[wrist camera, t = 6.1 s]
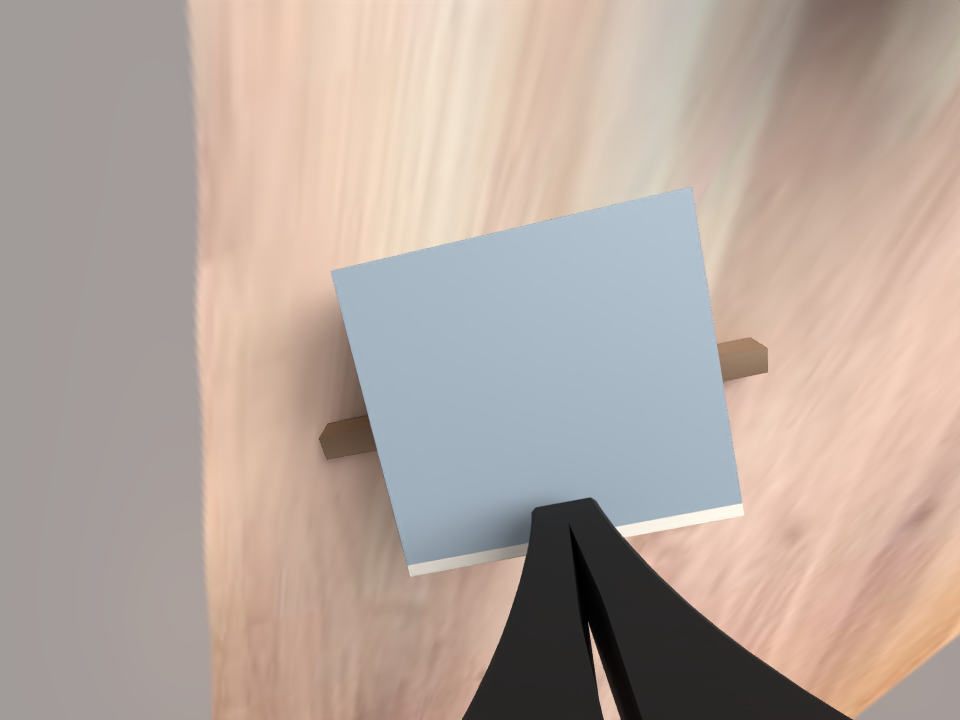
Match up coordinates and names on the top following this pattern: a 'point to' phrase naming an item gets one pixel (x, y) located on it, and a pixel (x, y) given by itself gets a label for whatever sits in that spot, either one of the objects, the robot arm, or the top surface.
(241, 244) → the top surface
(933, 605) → the top surface
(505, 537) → the block
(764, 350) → the batten
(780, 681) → the robot arm
